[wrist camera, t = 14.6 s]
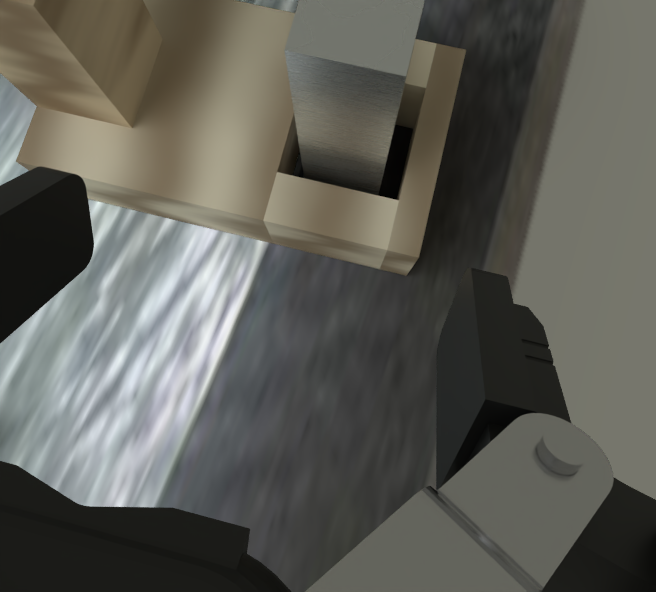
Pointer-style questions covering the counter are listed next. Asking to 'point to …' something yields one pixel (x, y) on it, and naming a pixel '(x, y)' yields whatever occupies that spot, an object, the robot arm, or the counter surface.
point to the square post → (349, 85)
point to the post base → (211, 122)
